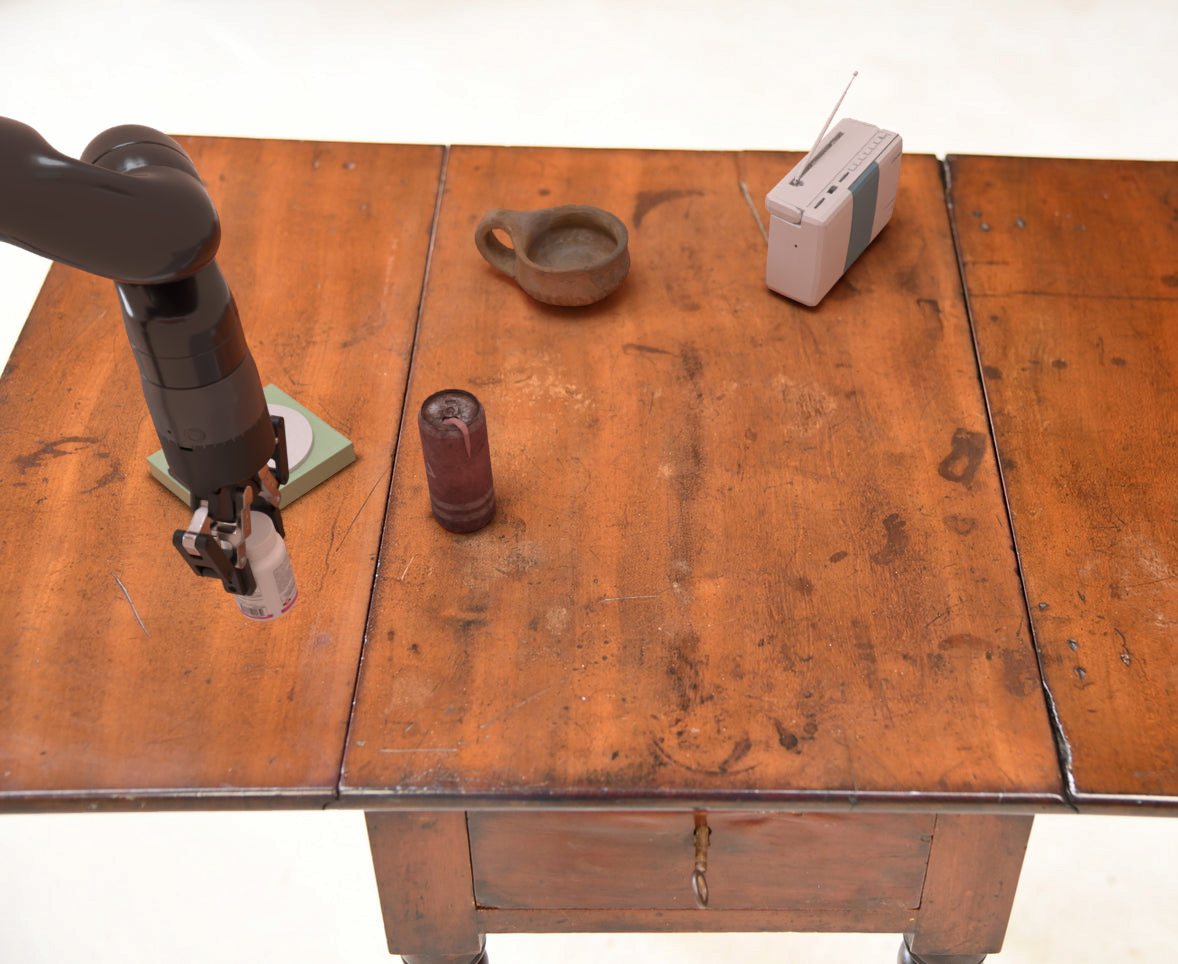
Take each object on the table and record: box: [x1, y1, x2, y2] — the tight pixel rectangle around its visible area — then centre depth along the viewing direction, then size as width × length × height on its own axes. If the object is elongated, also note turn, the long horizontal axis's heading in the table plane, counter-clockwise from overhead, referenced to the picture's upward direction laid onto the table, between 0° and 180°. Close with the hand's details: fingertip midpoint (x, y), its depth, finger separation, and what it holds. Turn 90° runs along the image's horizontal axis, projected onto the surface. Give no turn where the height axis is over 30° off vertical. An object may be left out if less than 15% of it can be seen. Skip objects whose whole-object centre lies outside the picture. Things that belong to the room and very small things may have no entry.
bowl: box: [474, 203, 631, 307], centre depth 158 cm, size 18×14×10 cm
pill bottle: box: [221, 511, 299, 622], centre depth 108 cm, size 5×5×8 cm
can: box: [417, 388, 497, 534], centre depth 132 cm, size 6×6×14 cm
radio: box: [764, 70, 904, 307], centre depth 160 cm, size 21×8×20 cm, turn 150°
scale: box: [145, 382, 357, 523], centre depth 139 cm, size 15×13×3 cm
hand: (256, 564), depth 108 cm, fingers closed on pill bottle, 4 cm apart
